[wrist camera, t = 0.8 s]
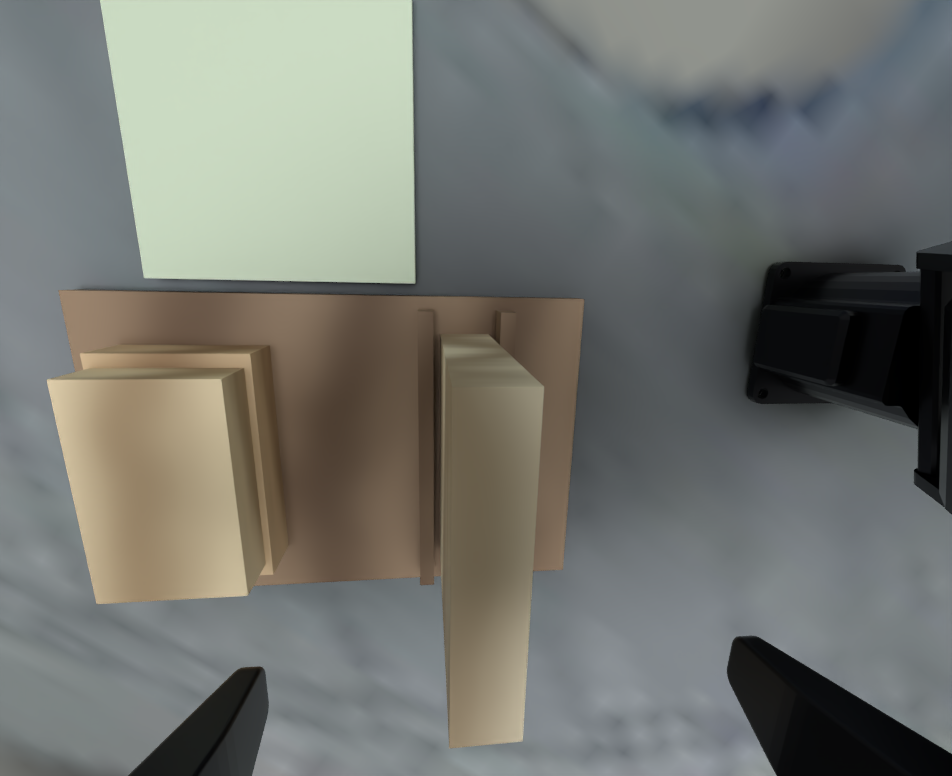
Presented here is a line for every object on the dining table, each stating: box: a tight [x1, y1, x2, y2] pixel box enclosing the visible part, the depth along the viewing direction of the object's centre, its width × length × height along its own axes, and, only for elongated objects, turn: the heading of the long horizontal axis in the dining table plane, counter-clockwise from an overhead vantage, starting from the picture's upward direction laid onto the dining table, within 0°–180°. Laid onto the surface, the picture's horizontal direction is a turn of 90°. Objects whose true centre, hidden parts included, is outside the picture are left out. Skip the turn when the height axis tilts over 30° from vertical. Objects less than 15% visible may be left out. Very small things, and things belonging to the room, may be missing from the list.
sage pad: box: [100, 0, 416, 284], centre depth 16 cm, size 10×10×1 cm
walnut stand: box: [59, 290, 584, 586], centre depth 19 cm, size 20×13×2 cm, turn 89°
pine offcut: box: [47, 368, 266, 604], centre depth 15 cm, size 5×8×2 cm, turn 179°
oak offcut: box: [80, 345, 288, 575], centre depth 17 cm, size 6×9×2 cm, turn 179°
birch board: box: [440, 334, 544, 748], centre depth 15 cm, size 2×10×9 cm, turn 179°
